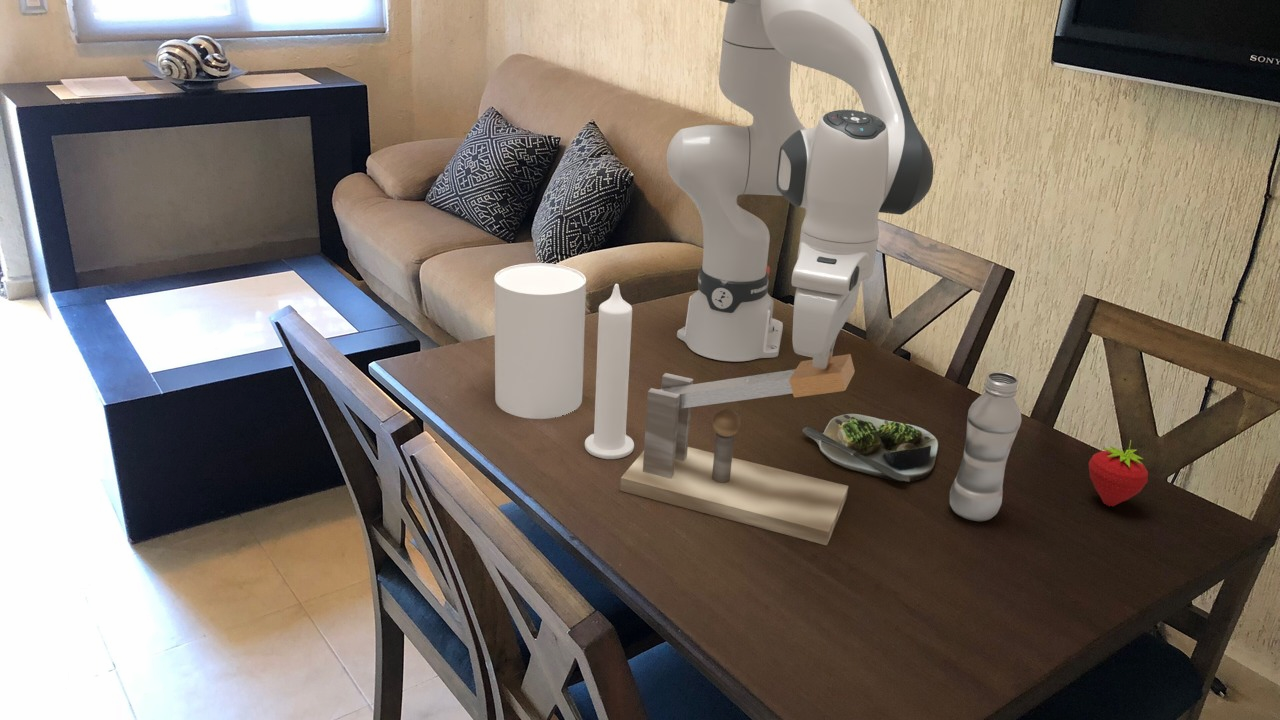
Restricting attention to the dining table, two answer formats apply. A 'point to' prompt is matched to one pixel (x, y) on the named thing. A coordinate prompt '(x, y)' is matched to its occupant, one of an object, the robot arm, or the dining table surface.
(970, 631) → the dining table surface
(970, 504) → the plastic bottle
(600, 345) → the candle
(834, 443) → the salad plate
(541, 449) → the dining table surface
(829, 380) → the press lever
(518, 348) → the canister
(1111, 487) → the strawberry
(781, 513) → the press base
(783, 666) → the dining table surface
